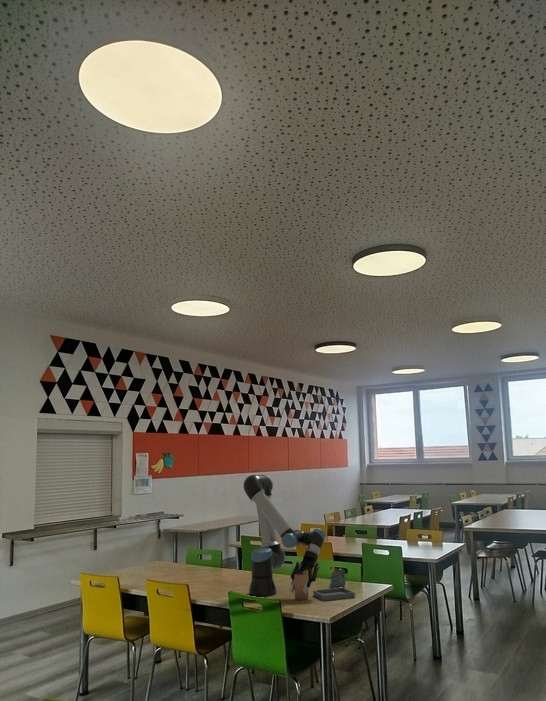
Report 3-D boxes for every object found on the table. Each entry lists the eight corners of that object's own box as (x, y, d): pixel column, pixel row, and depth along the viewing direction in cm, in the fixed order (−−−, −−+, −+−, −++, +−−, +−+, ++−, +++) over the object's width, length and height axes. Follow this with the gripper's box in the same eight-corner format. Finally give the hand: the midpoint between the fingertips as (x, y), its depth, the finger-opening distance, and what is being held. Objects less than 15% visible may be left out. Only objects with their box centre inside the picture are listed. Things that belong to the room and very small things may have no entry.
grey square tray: (313, 595, 299) (313, 590, 300) (343, 592, 304) (343, 587, 305) (323, 600, 286) (323, 595, 286) (355, 597, 291) (354, 592, 291)
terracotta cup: (293, 598, 295) (292, 573, 298) (305, 596, 297) (304, 572, 300) (297, 600, 288) (296, 575, 291) (310, 599, 290) (309, 574, 293)
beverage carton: (330, 588, 318) (330, 576, 319) (332, 582, 336) (332, 570, 338) (344, 588, 316) (344, 575, 318) (346, 582, 335) (345, 570, 336)
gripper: (330, 559, 304) (317, 597, 287) (298, 558, 314) (284, 594, 297) (325, 550, 301) (311, 588, 284) (293, 549, 311) (278, 585, 294)
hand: (298, 591), depth 291 cm, fingers closed on terracotta cup, 7 cm apart
